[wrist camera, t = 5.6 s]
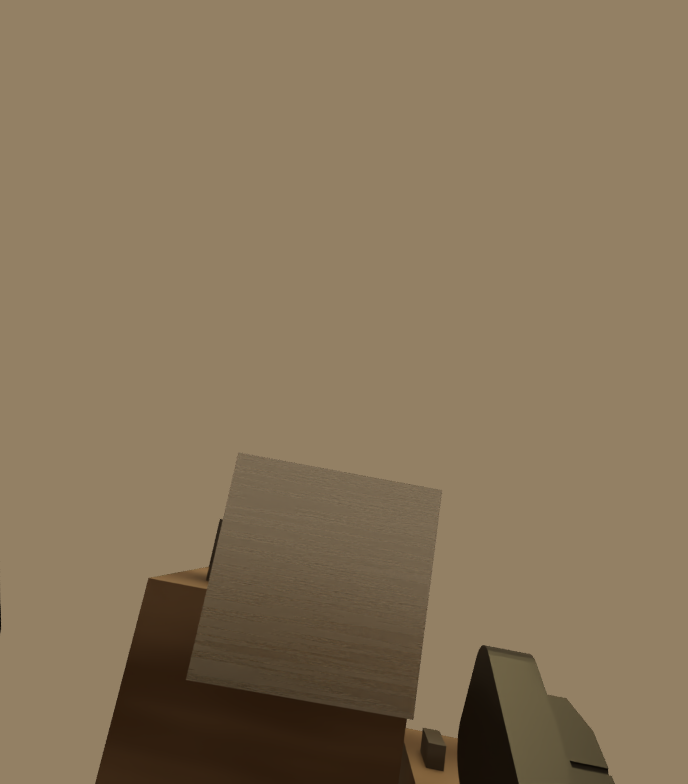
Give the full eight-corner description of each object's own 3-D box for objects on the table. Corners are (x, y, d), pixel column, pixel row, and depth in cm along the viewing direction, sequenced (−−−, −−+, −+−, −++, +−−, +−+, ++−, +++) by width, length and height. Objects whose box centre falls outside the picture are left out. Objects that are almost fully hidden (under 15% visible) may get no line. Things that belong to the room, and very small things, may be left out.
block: (412, 719, 7) (441, 490, 8) (185, 679, 7) (237, 452, 8) (330, 575, 30) (340, 522, 31) (278, 566, 30) (289, 512, 31)
